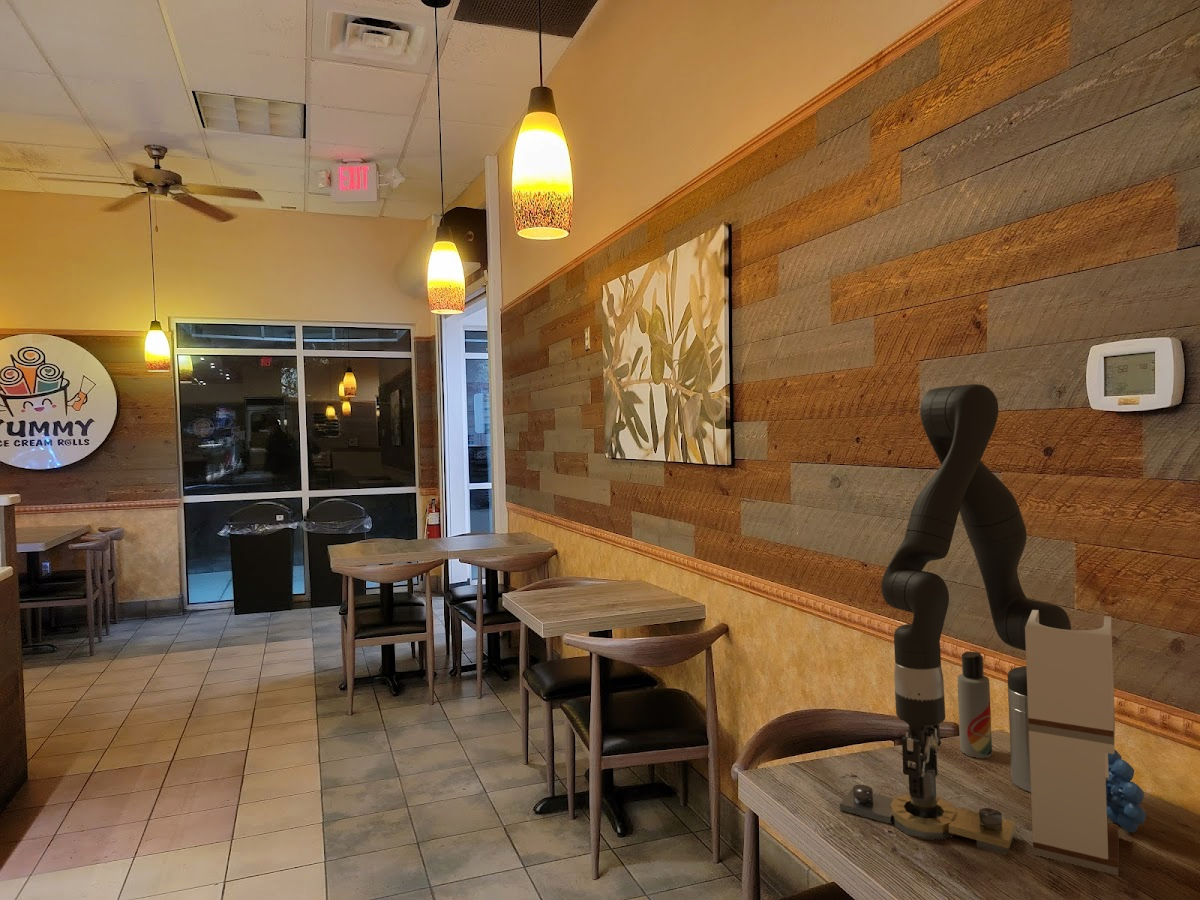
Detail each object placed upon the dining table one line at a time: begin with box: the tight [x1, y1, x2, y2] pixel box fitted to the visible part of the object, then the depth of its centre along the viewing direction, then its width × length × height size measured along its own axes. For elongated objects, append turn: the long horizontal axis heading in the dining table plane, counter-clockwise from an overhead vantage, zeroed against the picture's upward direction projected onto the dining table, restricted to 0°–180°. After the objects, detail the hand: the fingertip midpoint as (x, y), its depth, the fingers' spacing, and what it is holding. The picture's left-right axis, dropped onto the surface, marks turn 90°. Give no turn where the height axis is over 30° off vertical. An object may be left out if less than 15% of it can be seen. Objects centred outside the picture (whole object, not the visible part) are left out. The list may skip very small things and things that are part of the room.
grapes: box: [1106, 748, 1147, 834], centre depth 120 cm, size 12×7×12 cm, turn 178°
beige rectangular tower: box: [1025, 610, 1120, 877], centre depth 115 cm, size 11×11×35 cm
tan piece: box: [839, 784, 1017, 856], centre depth 124 cm, size 10×26×4 cm, turn 53°
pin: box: [910, 764, 937, 818], centre depth 124 cm, size 4×4×9 cm
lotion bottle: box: [956, 651, 993, 759], centre depth 148 cm, size 6×6×20 cm
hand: (924, 785), depth 124 cm, fingers open, 8 cm apart
